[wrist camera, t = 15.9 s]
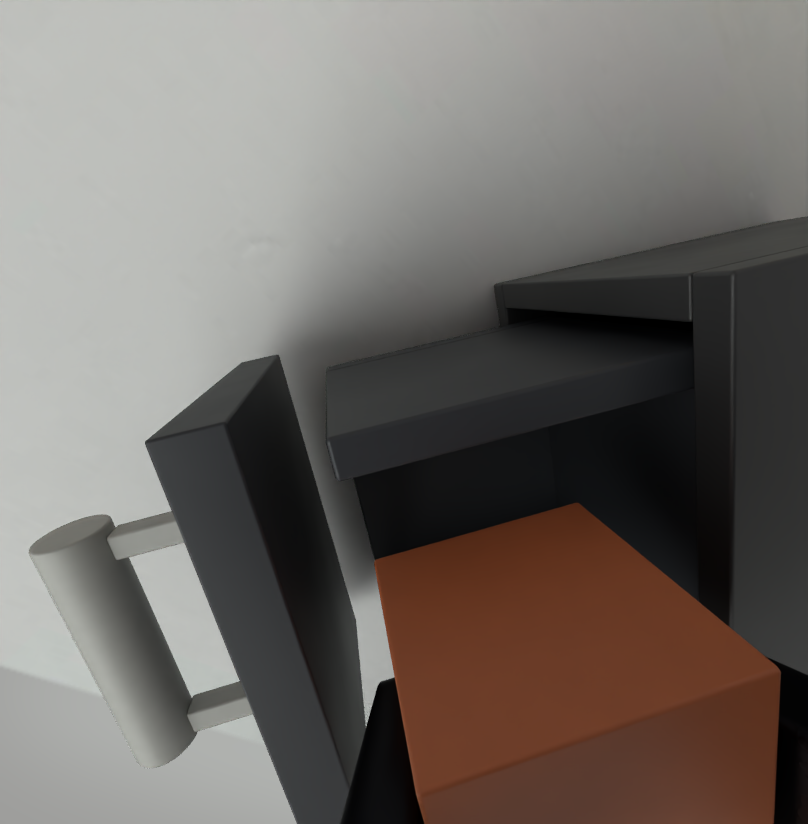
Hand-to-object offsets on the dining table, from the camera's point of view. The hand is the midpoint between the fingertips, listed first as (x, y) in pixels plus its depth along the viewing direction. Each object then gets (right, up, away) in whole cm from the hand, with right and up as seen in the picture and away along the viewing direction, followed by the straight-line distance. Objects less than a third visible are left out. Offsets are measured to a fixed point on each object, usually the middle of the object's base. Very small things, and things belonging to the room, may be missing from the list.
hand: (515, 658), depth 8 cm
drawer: (-3, +2, +8) cm, 9 cm away
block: (0, 0, +1) cm, 1 cm away
